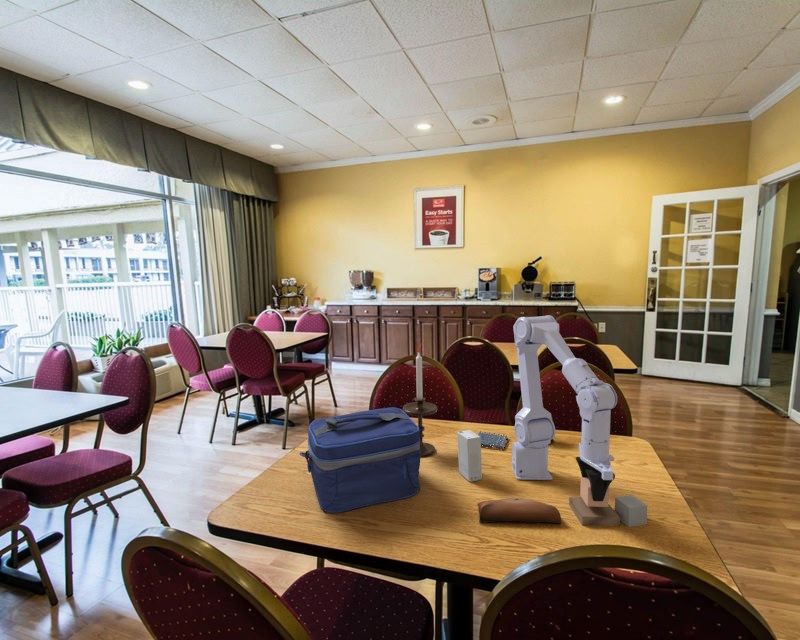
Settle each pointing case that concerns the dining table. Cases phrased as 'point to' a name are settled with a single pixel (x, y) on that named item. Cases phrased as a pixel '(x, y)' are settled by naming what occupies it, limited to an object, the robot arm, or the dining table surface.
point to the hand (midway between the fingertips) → (593, 494)
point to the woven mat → (492, 440)
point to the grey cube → (631, 510)
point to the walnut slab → (593, 513)
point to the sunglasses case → (517, 511)
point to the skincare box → (469, 455)
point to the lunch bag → (363, 458)
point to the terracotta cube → (587, 496)
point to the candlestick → (421, 408)
